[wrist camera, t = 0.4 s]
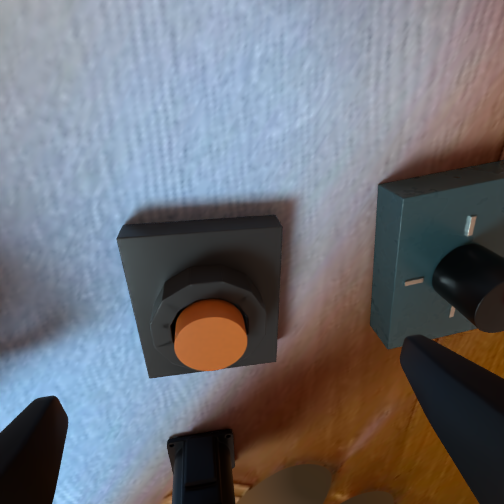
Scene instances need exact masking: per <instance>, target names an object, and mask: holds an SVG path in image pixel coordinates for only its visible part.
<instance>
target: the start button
mask: <svg viewBox="0 0 504 504" xmlns="http://www.w3.org/2000/svg"><path fill="white" fill-rule="evenodd" d="M247 341H248V340H247V334H246V329H245V324H244V319H243V316H242V314H241V312H240V311H239V309H238V308H237V307H235V306H234V305H233V304H231V303H229V302H227V301H224V300H219V299H205V300H201V301H197V302H195V303H193V304H191V305H189V306H188V307H186V308H185V309H184V310H183V311H182V312H181V314H180V315H179V317H178V319H177V322H176V329H175V342H174V349H175V353H176V355H177V357H178V358H179V360H180V361H181V362H182V363H183V364H185V365H186V366H188V367H190V368H193V369H196V370H201V371H214V370H219V369H223V368H226V367H228V366H230V365H232V364H233V363H235V362H236V361H237V360H239V359H240V358H241V356H242V355H243V354H244V352H245V350H246V347H247Z"/></svg>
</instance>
